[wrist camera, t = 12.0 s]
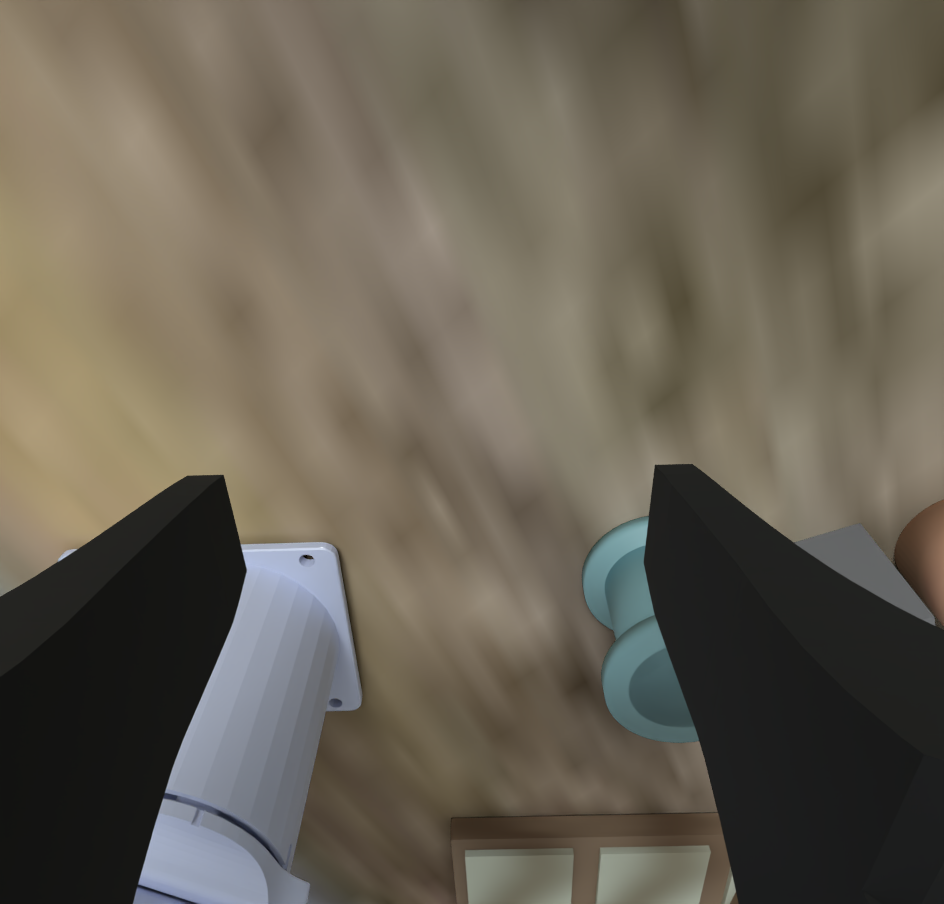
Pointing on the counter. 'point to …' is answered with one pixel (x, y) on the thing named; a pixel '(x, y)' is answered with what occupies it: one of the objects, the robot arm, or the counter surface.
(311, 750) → the robot arm
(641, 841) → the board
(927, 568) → the peach round blob
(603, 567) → the teal spool
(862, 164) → the counter surface
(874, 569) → the charcoal cube
